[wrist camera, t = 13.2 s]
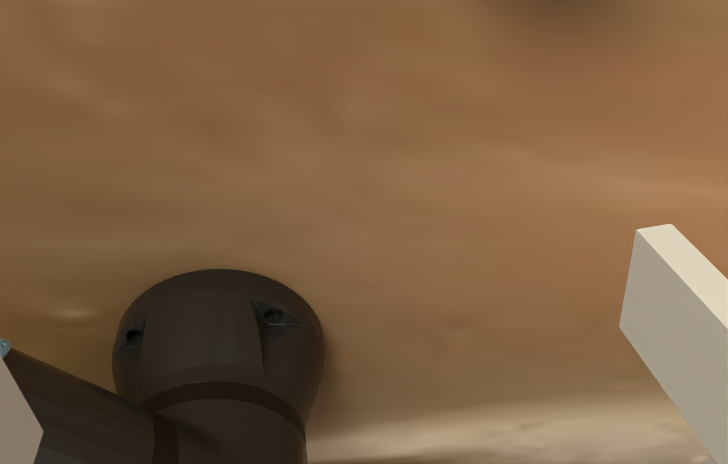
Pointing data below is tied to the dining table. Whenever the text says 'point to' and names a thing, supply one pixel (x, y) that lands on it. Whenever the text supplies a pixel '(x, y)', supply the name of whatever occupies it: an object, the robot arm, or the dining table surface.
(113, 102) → the dining table surface
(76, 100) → the dining table surface
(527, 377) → the dining table surface
